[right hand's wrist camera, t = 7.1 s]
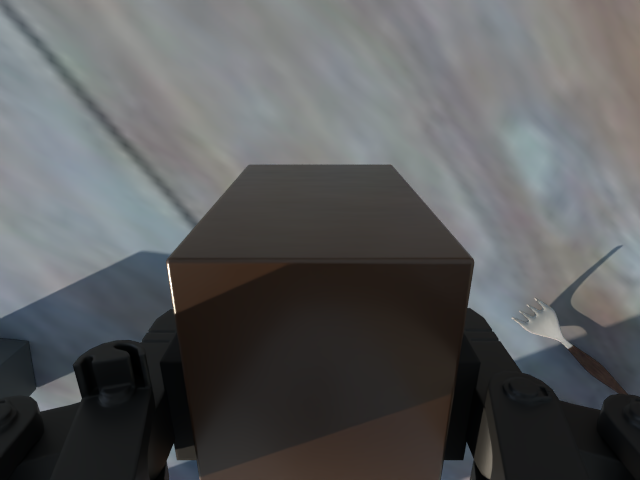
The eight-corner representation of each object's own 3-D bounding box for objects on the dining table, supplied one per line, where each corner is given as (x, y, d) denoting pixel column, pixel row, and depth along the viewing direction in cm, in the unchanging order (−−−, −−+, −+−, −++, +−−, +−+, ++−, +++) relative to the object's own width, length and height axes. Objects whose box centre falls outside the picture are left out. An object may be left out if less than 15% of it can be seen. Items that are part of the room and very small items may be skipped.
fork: (618, 408, 35) (634, 426, 33) (499, 306, 32) (510, 320, 30) (643, 390, 35) (662, 407, 33) (525, 283, 31) (538, 296, 29)
